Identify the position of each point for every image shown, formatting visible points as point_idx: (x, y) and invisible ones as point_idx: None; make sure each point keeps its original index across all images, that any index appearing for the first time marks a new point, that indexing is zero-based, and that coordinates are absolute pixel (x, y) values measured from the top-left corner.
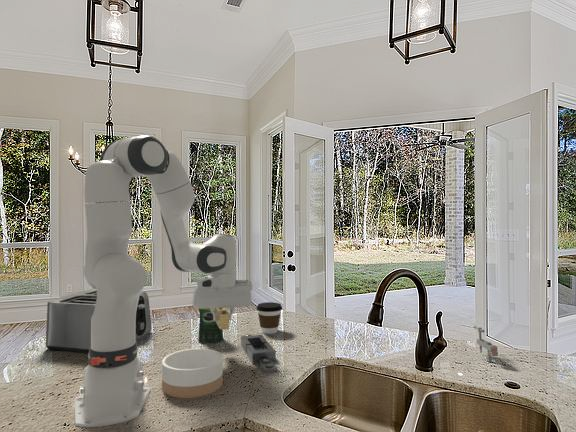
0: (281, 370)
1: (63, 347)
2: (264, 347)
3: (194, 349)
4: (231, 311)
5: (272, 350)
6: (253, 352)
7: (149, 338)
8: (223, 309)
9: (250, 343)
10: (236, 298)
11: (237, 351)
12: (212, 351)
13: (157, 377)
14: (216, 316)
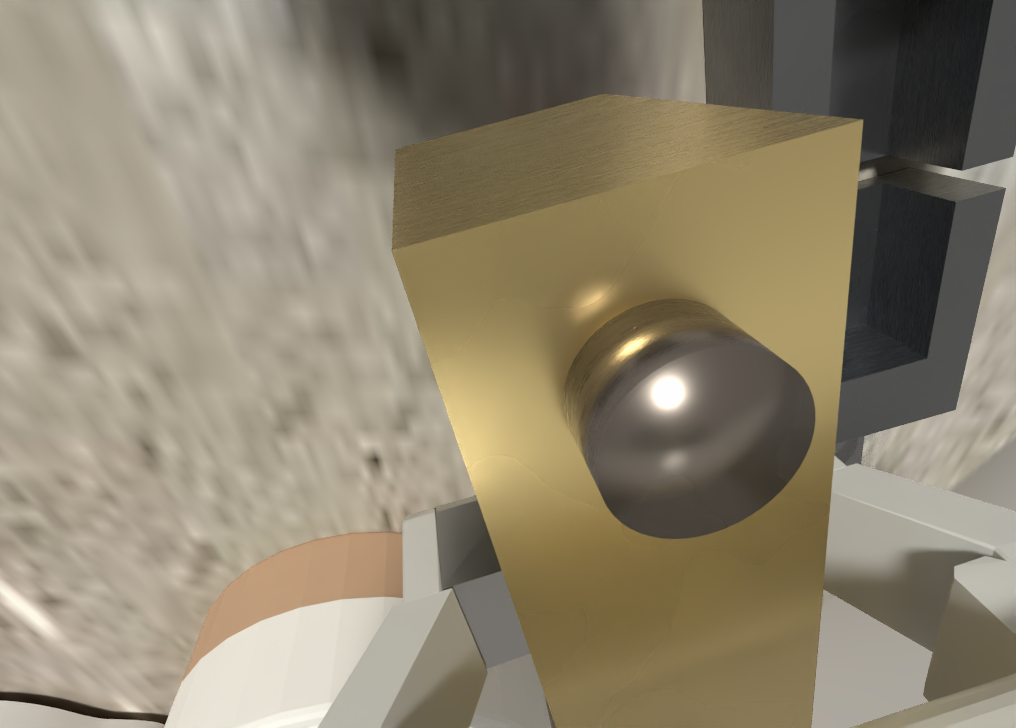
0: (867, 465)
1: None
2: (922, 219)
3: (313, 724)
4: (917, 641)
5: (940, 396)
6: None
7: None
8: (745, 577)
9: None
10: None
11: (645, 56)
12: (478, 726)
13: (88, 581)
14: (499, 655)
